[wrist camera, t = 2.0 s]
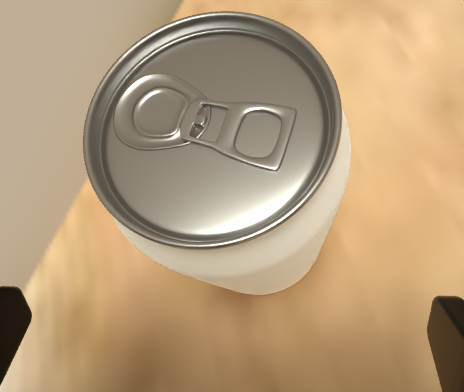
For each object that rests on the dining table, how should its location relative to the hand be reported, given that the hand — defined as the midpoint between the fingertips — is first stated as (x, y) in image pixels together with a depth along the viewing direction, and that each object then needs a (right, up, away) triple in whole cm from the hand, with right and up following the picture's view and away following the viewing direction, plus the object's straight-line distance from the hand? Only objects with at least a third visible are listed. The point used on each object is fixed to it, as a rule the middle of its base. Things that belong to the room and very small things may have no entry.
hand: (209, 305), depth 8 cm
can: (+2, 0, +11) cm, 11 cm away
